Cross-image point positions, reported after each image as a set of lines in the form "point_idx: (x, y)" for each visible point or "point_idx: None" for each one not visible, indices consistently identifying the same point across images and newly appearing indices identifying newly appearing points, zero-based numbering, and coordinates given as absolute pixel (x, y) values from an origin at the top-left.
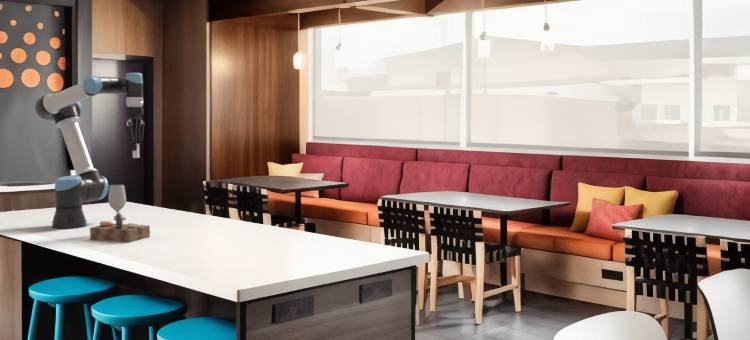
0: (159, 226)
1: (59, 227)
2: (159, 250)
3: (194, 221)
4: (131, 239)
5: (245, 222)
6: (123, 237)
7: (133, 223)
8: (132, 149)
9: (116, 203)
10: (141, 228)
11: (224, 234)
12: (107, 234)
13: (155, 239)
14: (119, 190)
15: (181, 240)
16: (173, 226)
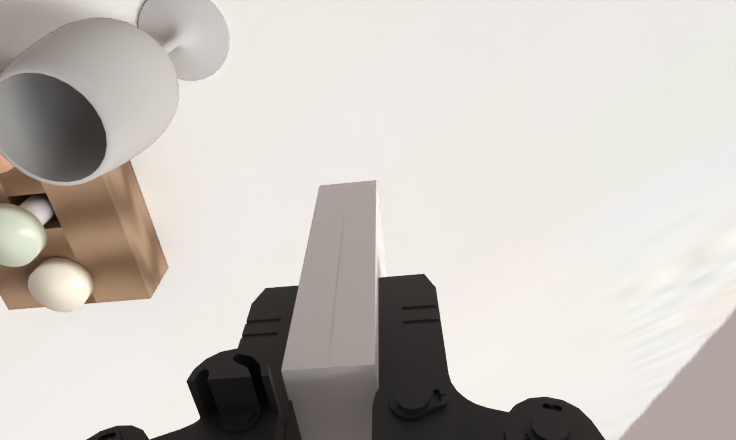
0: (443, 107)
1: None
2: (11, 432)
3: (671, 157)
4: None
5: (679, 361)
6: None
7: (52, 292)
8: (253, 309)
9: (76, 118)
10: (91, 300)
11: None
12: None
13: (142, 315)
14: (54, 167)
15: (184, 392)
16: (470, 171)
